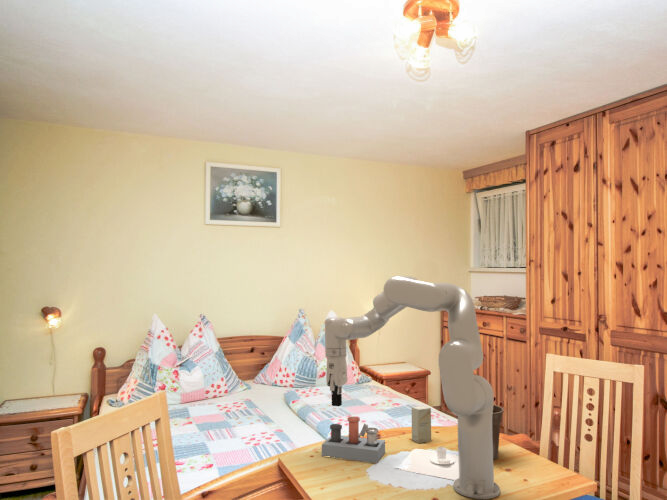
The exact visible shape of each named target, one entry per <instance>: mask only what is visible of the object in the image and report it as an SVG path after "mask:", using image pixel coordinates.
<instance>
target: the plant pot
mask: <svg viewBox="0 0 667 500" xmlns="http://www.w3.org/2000/svg"><path fill="white" fill-rule="evenodd" d="M503 413H504V408H503V407H502V406H499V405H497V404H494V403H493V414H492V438H493V460H497V459H498V458H499V445H500V434H501V433H500V431H501V423H502V419H503ZM456 419H457V420H458V416H457V415H456Z"/></svg>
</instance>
